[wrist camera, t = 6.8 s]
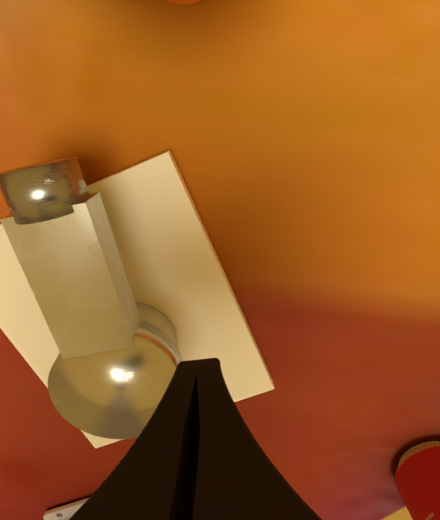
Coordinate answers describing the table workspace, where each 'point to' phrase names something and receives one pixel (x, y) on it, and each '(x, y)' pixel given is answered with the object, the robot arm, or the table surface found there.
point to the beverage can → (420, 480)
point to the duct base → (151, 281)
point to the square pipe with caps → (85, 302)
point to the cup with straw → (182, 1)
